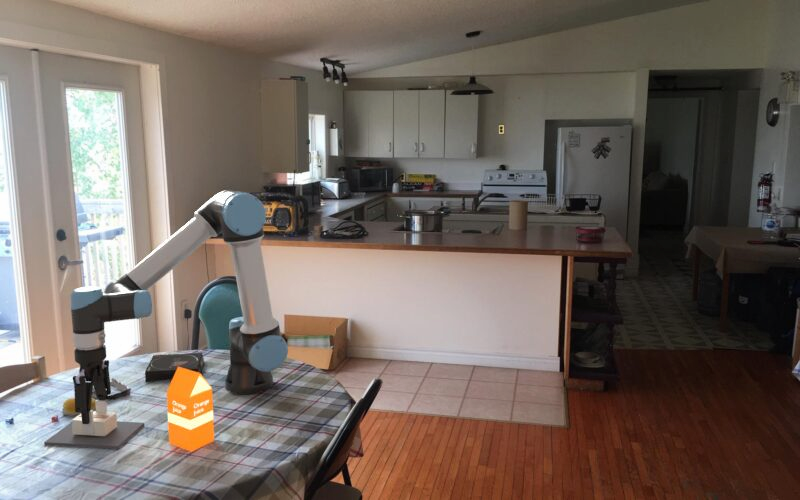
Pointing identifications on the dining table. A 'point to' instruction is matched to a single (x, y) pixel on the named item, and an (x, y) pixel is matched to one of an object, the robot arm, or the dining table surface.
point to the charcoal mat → (96, 437)
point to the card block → (97, 423)
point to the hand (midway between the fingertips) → (95, 428)
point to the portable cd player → (172, 365)
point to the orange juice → (190, 410)
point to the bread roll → (70, 407)
